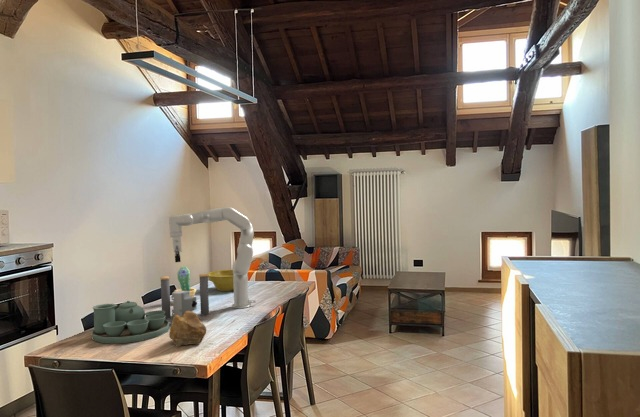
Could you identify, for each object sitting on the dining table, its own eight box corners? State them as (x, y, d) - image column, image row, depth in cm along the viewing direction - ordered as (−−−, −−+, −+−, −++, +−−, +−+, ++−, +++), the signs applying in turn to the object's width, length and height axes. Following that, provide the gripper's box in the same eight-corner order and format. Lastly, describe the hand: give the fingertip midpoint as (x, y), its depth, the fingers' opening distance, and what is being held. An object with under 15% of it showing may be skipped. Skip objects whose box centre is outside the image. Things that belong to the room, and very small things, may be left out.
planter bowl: (244, 293, 358) (243, 275, 357) (202, 294, 358) (201, 276, 358) (251, 285, 390) (250, 269, 390) (212, 286, 390) (211, 270, 390)
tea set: (119, 349, 230) (118, 315, 230) (77, 337, 253) (75, 306, 253) (185, 329, 263) (184, 299, 262) (142, 320, 286) (141, 293, 285)
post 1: (170, 316, 291) (169, 276, 291) (170, 318, 286) (169, 277, 286) (162, 317, 290) (160, 277, 289) (161, 319, 285) (160, 278, 284)
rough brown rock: (197, 352, 224) (199, 320, 224) (163, 348, 226) (165, 317, 226) (213, 338, 247) (214, 310, 247) (182, 336, 249) (184, 308, 249)
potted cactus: (169, 303, 329) (168, 267, 329) (183, 298, 344) (182, 264, 343) (187, 304, 324) (186, 268, 323) (201, 299, 338) (200, 265, 337)
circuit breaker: (193, 318, 286) (192, 293, 286) (172, 317, 289) (171, 293, 289) (199, 314, 294) (198, 291, 293) (178, 314, 296) (177, 290, 296)
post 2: (208, 312, 298) (207, 273, 297) (209, 314, 293) (208, 274, 292) (200, 313, 296) (199, 274, 296) (200, 315, 291) (199, 275, 291)
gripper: (182, 235, 294) (184, 262, 294) (181, 233, 310) (183, 259, 311) (169, 236, 292) (171, 263, 292) (169, 234, 308) (171, 260, 309)
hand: (177, 261), depth 302 cm, fingers open, 9 cm apart
